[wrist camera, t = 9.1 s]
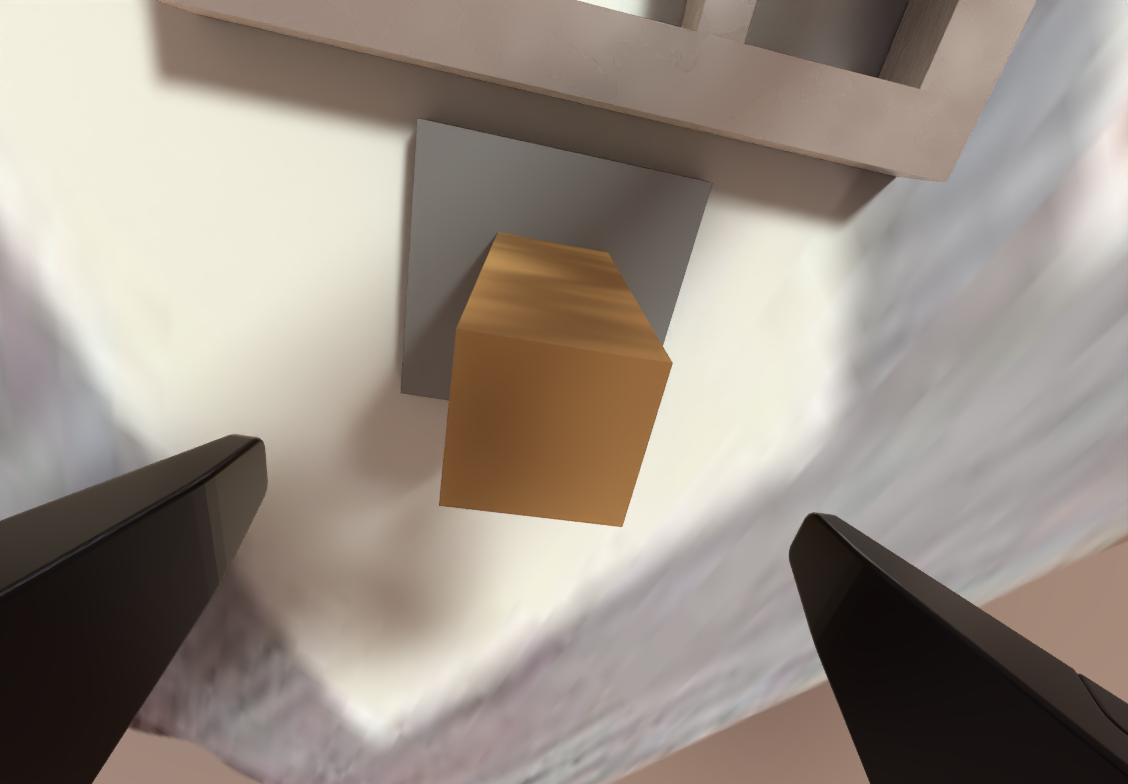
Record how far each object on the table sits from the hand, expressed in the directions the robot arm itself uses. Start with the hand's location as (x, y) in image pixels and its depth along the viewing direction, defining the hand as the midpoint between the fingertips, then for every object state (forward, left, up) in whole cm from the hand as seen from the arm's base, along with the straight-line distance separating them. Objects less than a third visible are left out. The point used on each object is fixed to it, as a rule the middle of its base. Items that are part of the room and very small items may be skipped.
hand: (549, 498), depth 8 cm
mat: (0, 0, -13) cm, 13 cm away
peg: (0, 0, -12) cm, 12 cm away
